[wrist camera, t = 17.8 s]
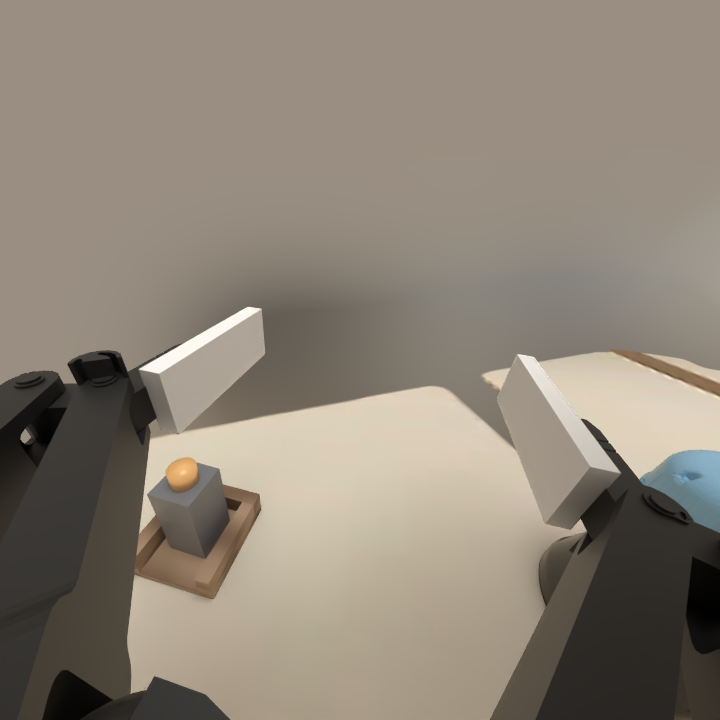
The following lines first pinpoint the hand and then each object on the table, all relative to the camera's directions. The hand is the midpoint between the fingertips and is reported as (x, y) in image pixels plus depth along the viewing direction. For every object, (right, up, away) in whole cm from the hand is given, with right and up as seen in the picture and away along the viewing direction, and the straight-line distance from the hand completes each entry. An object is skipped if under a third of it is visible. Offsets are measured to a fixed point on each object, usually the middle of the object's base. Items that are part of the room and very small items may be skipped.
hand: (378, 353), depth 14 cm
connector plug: (-20, -21, +19) cm, 35 cm away
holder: (-20, -22, +19) cm, 36 cm away
